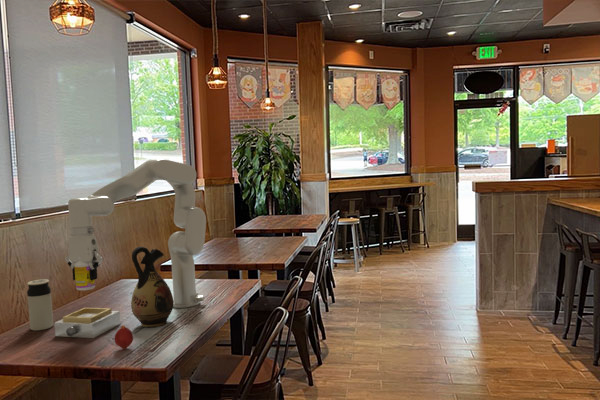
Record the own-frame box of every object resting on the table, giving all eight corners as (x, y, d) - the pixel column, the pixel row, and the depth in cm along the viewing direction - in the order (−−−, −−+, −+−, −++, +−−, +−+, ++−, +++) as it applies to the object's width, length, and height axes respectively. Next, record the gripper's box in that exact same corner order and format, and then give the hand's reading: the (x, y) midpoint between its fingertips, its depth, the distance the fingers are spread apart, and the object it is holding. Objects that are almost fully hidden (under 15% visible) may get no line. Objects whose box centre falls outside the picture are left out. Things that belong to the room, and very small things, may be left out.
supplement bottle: (88, 291, 182) (85, 256, 181) (72, 290, 183) (69, 256, 183) (99, 286, 189) (96, 252, 188) (83, 286, 190) (80, 253, 189)
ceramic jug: (161, 315, 202) (157, 241, 200) (182, 322, 191) (177, 244, 189) (121, 325, 190) (115, 247, 188) (140, 334, 179) (134, 251, 177)
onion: (118, 346, 168) (116, 323, 167) (135, 345, 168) (134, 321, 168) (113, 352, 162) (111, 328, 161) (131, 351, 162) (129, 327, 162)
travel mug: (58, 324, 195) (54, 279, 194) (41, 331, 187) (37, 284, 186) (42, 323, 197) (38, 278, 196) (25, 330, 190) (21, 283, 189)
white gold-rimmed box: (120, 323, 193) (119, 307, 192) (89, 340, 175) (88, 321, 175) (84, 322, 197) (83, 306, 196) (51, 338, 179) (49, 320, 179)
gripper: (108, 229, 186) (111, 277, 187) (68, 230, 190) (72, 276, 192) (95, 232, 179) (99, 282, 180) (54, 233, 183) (58, 281, 184)
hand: (85, 278), depth 186 cm, fingers closed on supplement bottle, 6 cm apart
